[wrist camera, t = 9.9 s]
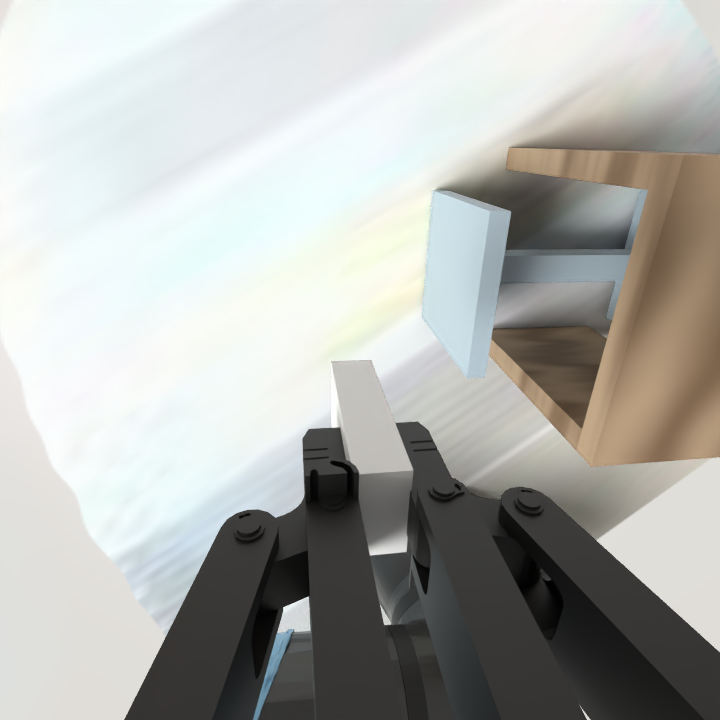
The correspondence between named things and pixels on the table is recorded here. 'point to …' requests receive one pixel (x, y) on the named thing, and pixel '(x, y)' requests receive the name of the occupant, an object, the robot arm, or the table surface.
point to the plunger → (495, 272)
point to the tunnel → (636, 319)
